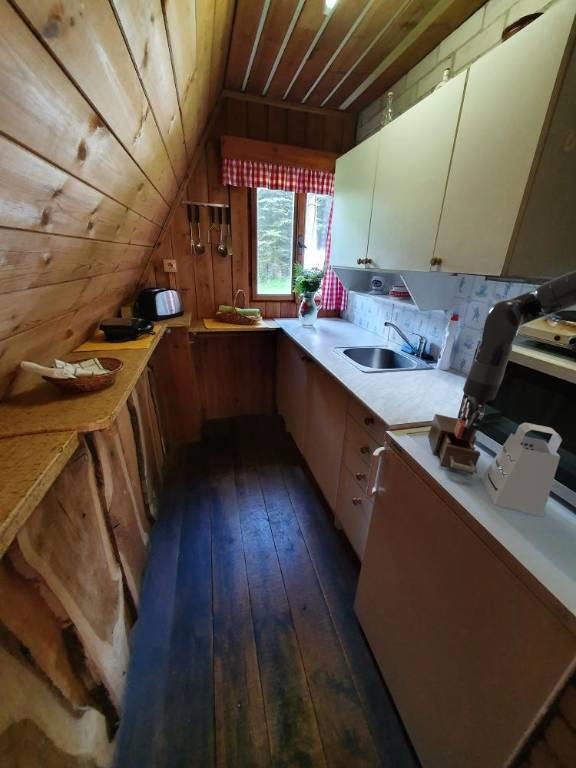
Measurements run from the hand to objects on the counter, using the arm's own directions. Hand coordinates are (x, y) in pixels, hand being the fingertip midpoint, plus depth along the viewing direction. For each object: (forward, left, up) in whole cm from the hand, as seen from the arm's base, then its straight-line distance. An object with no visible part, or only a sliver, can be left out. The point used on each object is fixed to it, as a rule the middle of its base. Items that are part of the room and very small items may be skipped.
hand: (463, 435), depth 86 cm
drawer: (0, +1, -9) cm, 9 cm away
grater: (-15, +2, -10) cm, 18 cm away
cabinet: (+5, -8, -10) cm, 14 cm away
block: (0, 0, 0) cm, 0 cm away
